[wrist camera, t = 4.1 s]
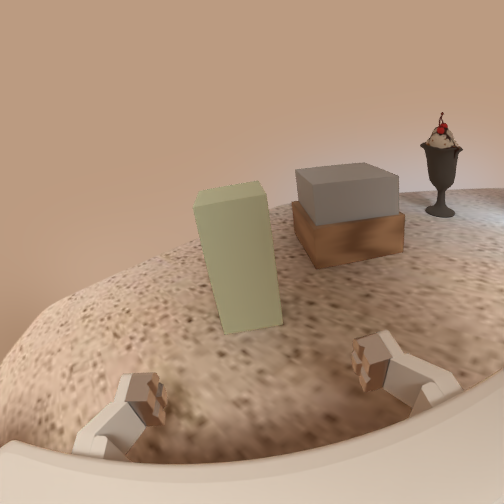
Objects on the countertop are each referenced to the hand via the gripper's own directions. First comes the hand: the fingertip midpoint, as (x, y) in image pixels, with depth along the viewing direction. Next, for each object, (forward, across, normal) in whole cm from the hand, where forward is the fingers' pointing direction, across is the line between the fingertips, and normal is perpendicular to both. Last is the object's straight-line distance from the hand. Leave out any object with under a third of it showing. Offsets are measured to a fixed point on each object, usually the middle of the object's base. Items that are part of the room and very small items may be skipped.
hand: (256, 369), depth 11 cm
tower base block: (+21, -12, +6) cm, 25 cm away
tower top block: (+21, -12, +1) cm, 25 cm away
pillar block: (+11, 0, +6) cm, 13 cm away
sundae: (+25, -30, +6) cm, 40 cm away
